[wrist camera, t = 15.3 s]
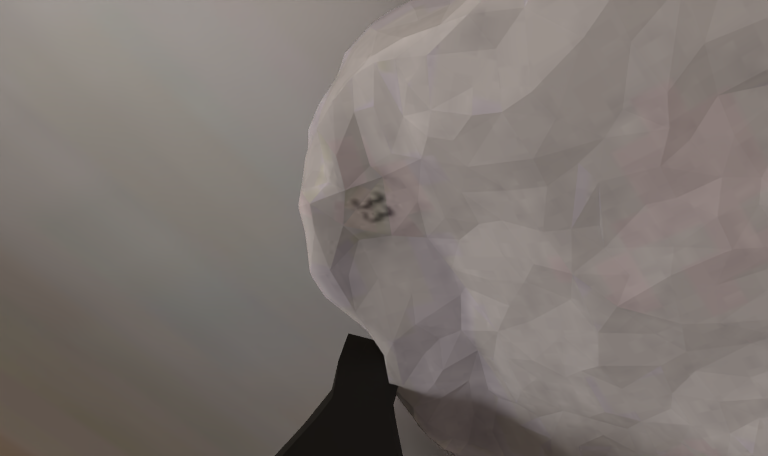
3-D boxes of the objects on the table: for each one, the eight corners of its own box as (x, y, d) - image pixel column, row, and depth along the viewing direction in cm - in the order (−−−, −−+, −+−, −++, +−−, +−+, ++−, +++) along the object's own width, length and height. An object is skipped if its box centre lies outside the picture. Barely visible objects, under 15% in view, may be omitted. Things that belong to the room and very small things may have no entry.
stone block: (633, 488, 15) (1307, 374, 9) (624, 726, 11) (1761, 782, 5) (304, 55, 12) (1001, -511, 6) (137, 179, 8) (1549, -998, 2)
